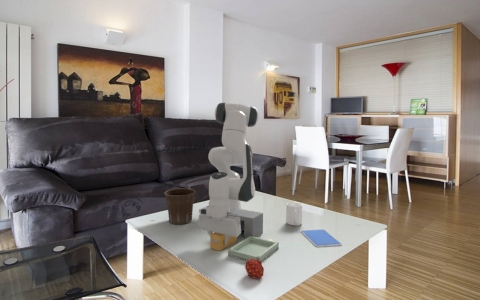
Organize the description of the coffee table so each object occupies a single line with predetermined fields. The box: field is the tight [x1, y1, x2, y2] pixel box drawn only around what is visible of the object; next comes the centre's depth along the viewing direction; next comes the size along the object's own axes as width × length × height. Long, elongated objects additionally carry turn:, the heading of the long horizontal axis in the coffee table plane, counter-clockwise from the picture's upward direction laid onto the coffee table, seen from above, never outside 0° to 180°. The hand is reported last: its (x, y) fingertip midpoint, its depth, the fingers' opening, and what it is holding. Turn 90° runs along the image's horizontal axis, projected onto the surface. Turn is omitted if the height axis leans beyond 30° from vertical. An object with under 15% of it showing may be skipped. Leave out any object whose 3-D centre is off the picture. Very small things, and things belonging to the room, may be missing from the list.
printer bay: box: [230, 208, 264, 239], centre depth 156 cm, size 16×10×10 cm, turn 59°
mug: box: [285, 201, 303, 227], centre depth 169 cm, size 12×8×10 cm
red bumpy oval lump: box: [244, 259, 265, 279], centre depth 114 cm, size 6×7×8 cm
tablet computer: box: [300, 229, 343, 248], centre depth 150 cm, size 19×13×1 cm, turn 10°
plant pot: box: [164, 188, 196, 225], centre depth 173 cm, size 16×16×16 cm
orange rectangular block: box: [209, 232, 237, 251], centre depth 140 cm, size 5×13×6 cm, turn 145°
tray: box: [227, 236, 280, 263], centre depth 134 cm, size 14×18×2 cm
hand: (219, 242), depth 138 cm, fingers closed on orange rectangular block, 5 cm apart
